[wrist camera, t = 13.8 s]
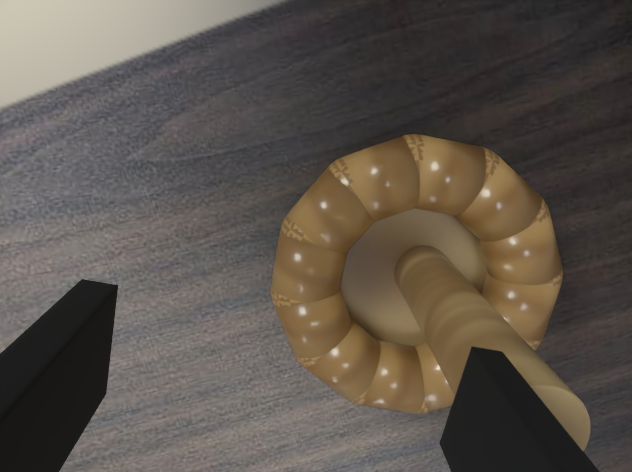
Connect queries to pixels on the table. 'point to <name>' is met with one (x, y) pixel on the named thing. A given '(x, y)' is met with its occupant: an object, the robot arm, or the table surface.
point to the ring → (387, 200)
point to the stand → (443, 304)
